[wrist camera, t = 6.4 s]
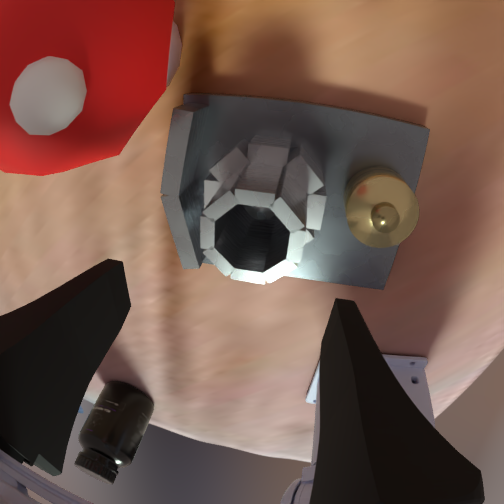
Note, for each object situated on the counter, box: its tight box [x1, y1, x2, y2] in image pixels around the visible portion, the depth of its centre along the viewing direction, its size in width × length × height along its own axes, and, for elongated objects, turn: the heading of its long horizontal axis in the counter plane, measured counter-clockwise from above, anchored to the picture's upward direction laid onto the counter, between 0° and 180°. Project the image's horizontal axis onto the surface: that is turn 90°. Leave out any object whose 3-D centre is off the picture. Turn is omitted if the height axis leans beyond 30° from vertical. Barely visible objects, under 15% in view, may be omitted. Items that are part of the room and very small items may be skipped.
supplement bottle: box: [75, 381, 154, 484], centre depth 30 cm, size 7×7×12 cm
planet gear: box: [200, 135, 327, 284], centre depth 15 cm, size 6×6×6 cm
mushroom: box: [0, 0, 182, 176], centre depth 10 cm, size 11×11×12 cm
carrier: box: [161, 93, 430, 290], centre depth 17 cm, size 13×10×4 cm
